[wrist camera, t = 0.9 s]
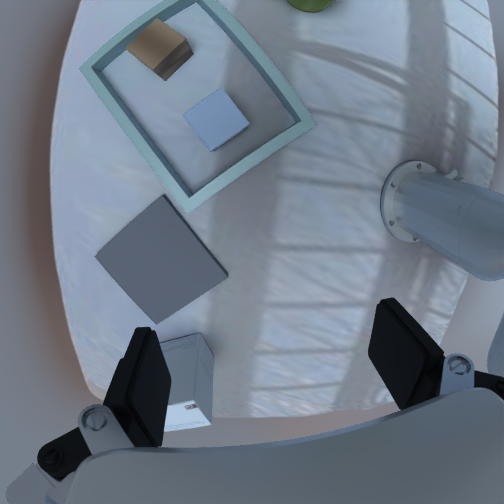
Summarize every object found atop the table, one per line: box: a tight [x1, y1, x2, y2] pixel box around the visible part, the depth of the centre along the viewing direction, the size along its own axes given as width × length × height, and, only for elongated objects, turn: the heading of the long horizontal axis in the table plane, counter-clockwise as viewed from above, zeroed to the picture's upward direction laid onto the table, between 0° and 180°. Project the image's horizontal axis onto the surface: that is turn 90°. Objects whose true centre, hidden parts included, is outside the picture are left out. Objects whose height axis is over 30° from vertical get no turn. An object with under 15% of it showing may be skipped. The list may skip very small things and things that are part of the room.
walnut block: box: [125, 18, 193, 81], centre depth 25 cm, size 5×5×6 cm
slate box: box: [183, 88, 250, 151], centre depth 29 cm, size 5×5×6 cm
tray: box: [79, 0, 318, 214], centre depth 28 cm, size 19×25×3 cm
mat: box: [95, 195, 228, 325], centre depth 38 cm, size 14×14×1 cm
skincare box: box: [160, 333, 214, 432], centre depth 37 cm, size 8×6×15 cm
